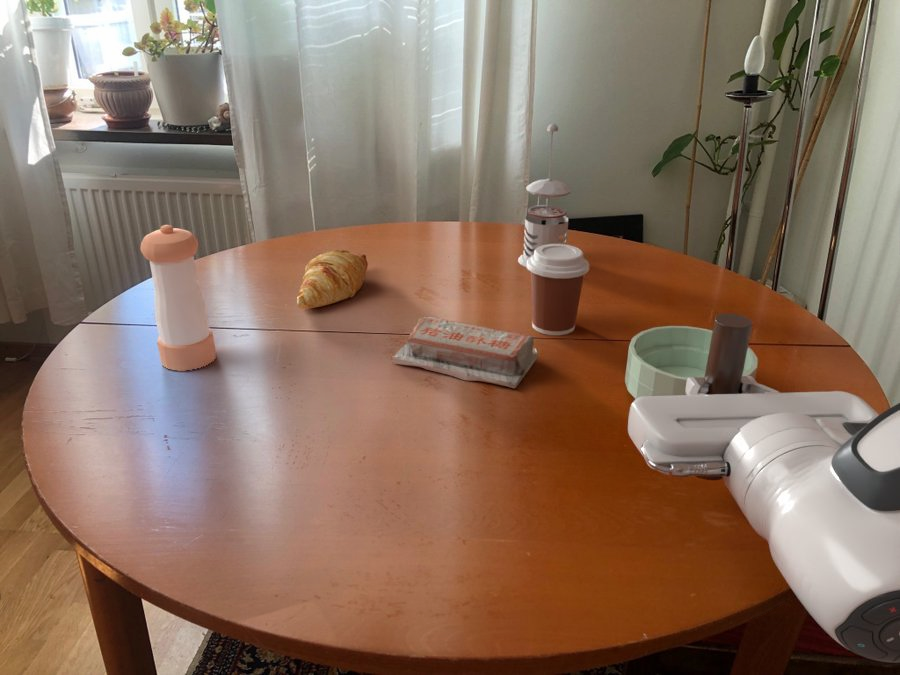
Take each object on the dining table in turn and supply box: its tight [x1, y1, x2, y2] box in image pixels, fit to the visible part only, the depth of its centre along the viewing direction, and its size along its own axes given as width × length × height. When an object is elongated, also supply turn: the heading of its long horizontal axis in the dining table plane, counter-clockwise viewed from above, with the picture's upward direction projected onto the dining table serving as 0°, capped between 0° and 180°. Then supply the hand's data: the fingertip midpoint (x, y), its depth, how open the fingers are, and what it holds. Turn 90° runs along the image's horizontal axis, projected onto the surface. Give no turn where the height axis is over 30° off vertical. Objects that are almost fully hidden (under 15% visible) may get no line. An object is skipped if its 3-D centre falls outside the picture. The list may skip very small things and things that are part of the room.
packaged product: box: [391, 316, 539, 389], centre depth 101 cm, size 18×5×10 cm
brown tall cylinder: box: [695, 312, 754, 481], centre depth 70 cm, size 4×4×16 cm
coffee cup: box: [526, 243, 590, 336], centre depth 110 cm, size 9×9×12 cm
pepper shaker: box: [139, 224, 217, 372], centre depth 98 cm, size 7×7×19 cm
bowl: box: [624, 325, 759, 400], centre depth 93 cm, size 15×15×6 cm
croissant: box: [296, 250, 369, 310], centre depth 124 cm, size 21×10×8 cm, turn 160°
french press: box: [517, 123, 573, 268], centre depth 134 cm, size 10×12×25 cm
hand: (717, 383), depth 70 cm, fingers closed on brown tall cylinder, 3 cm apart
